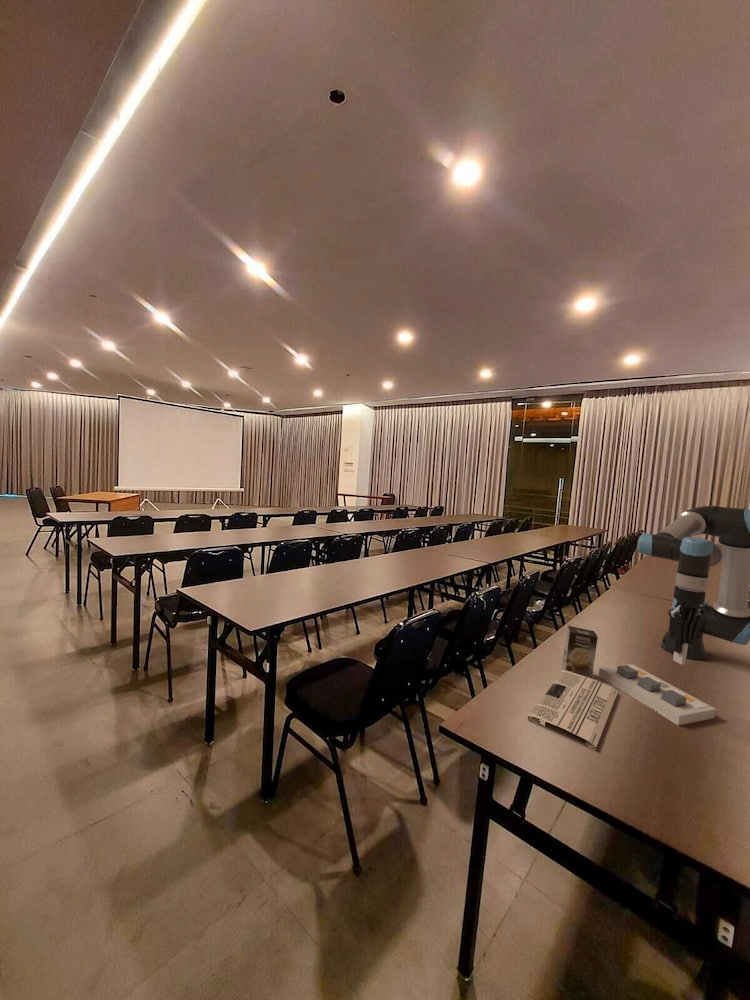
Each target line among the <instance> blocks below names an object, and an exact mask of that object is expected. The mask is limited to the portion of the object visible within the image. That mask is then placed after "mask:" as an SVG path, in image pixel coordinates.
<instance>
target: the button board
mask: <svg viewBox="0 0 750 1000" xmlns="http://www.w3.org/2000/svg"><path fill="white" fill-rule="evenodd" d="M623 665H624V664H621V665H614V666H606V667H605V666H603V667H599V669H598V677H599V678H601V679H603V680H604V681H606V682H607V683H609V684H611V686H614V687H616V688H617V689H619V690H620V691H622V692H623V693H625V694H627V695H628V696H630V697H632V698H633V699H635V700H636V699H637V700H636V701H638V702H639V701H640V702H639V703H641V704H642V705H644V704H645V706H646V705H647V706H646V707H648V706H649V707H650V709H651V708H652V709H654V710H655V711H654V710H653V711H654V712H656V711H657V712H658V713H657V712H656V713H657V714H659V715H660V714H661V715H660V716H662V717H664V718H665V719H667V720H669V721H670V722H672V723H673V724H675V725H676V726H682V725H688V724H692V723H697V722H702V721H707V720H713V719H715V718H716V711H717V709H716V708H715V707H713V706H711V705H709V704H708V703H705V702H704V701H702V700H701V699H699V698H696V697H694V696H692V695H691V694H688V693H687V692H685V691H683V690H681V689H680V688H679V687H676V686H674V685H672V684H670V683H668V682H667V681H665V680H664V679H661V678H659V677H658V676H655V674H654V675H653V674H652V673H650V672H648V671H646V670H644V669H642V668H641V667H639V666H637V665H635V664H633V663H630V664H628V663H627V664H626V665H628V666H629V667H631V668H633V669H635V670H637V671H638V676H637V678H635V679H626V678H625V677H623V676H621V675H619V674H618V673H617V666H623ZM643 677H649V678H651V679H653V680H655V681H657V682H659V683H660V684H661V687H660V691H658V692H651V693H650V692H649V691H647V690H645V689H643V688H642V687H640V686H638V679H639V678H643ZM669 690H673V691H675V692H677V693H679V694H680V695H682V696H684V697H686V704H685V706H681V707H674V706H673V705H671V704H669V703H667V702H666V701H664V700H662V699H661V697H662V691H669ZM649 707H648V708H649ZM652 709H651V710H652Z"/></svg>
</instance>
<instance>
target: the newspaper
mask: <svg viewBox="0 0 750 1000" xmlns="http://www.w3.org/2000/svg"><path fill="white" fill-rule="evenodd" d="M618 693H619V691H618V690H617V689H616V688H614V687H613V686H612V685H608V684H606V683H604V682H601V681H599V680H596V679H594V678H593V677H592V678H588V677H585V676H582V675H579V674H576V673H573V672H570V671H564V670H563V669H562V670H561V671H560V672H559V673H558V675H557V677H556V678H555V679H554V680H553V682H552V683H551V684H550V686H549V687H548V689H547V690H546V691H545V693H543V695H542V696H541V698H540V699H539V700H538V702H537V703H536V704H535V706H534V707H533V708H532V710H531V711H530V713H529V714H528V716H527V720H528V721H529V722H532V723H534V722H536V723H535V724H537V723H538V724H537V725H540V722H541V721H539V720H540V719H541V720H543V721H546V722H547V723H549V724H551V725H553V726H556V727H559V728H561V729H563V730H565V731H567V732H569V733H572V734H573V735H576V736H578V737H579V738H580V739H584V740H585V743H584V745H585V746H587V747H588V748H589V749H591V750H593V751H596V750H597V747H598V744H599V742H600V740H601V736H602V733H604V732H603V731H604V730H605V729H604V728H605V726H606V724H607V721H608V719H609V717H610V714H611V711H612V708H613V706H614V704H615V700H616V699H617V696H618ZM530 720H531V721H530Z"/></svg>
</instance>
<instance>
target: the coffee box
mask: <svg viewBox="0 0 750 1000" xmlns="http://www.w3.org/2000/svg"><path fill="white" fill-rule="evenodd" d="M598 638H599V637H598V635H597V633H596V632H595V631H594V630H590V629H585V628H581V627H577V626H572V625H567V630H566V636H565V642H564V649H563V651H564V652H563V657H562V665H561V668H562V670H564V671H570V672H573V673H576V674H579V675H582V676H585V677H588V678H592V679H593V671H594V666H595V658H596V651H597V644H598Z"/></svg>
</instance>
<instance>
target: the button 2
mask: <svg viewBox="0 0 750 1000" xmlns="http://www.w3.org/2000/svg"><path fill="white" fill-rule="evenodd" d="M661 699H662V700H664V701H666V702H667V703H669V704H671V705H673V706H674V707H681V706H685V704H686V697H684V696H682V695H680V694H679V693H677V692H675V691H673V690H669V691H662V697H661Z"/></svg>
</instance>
